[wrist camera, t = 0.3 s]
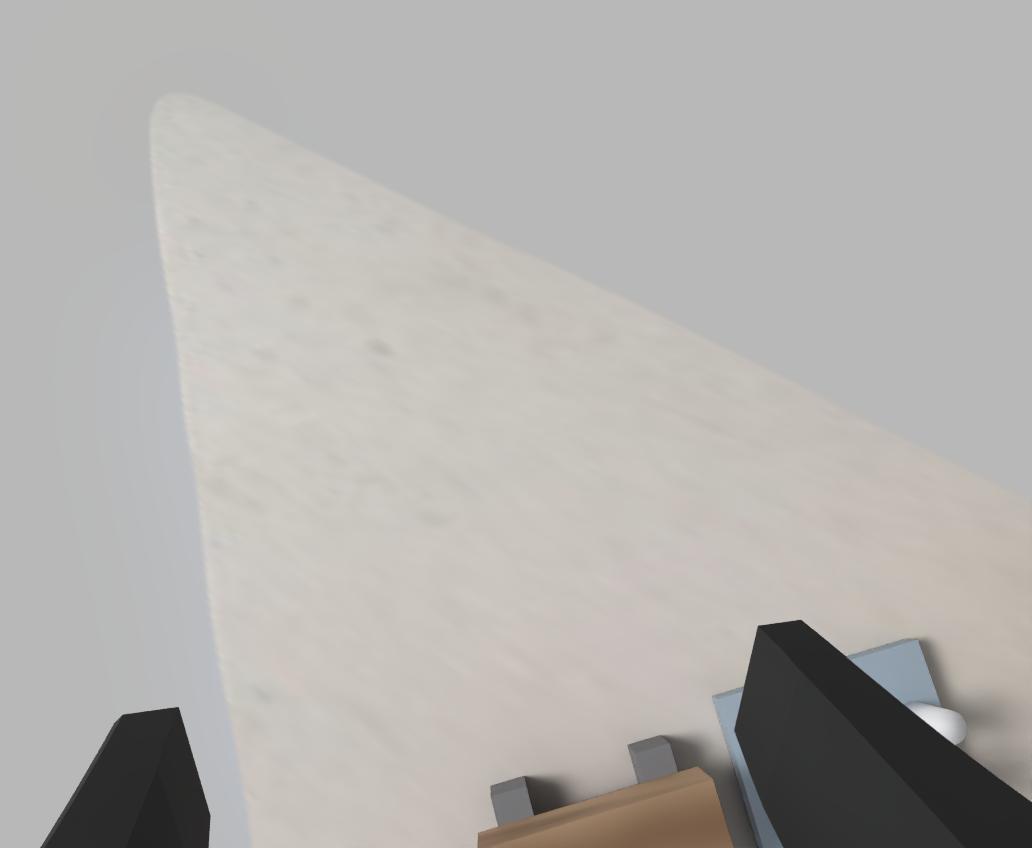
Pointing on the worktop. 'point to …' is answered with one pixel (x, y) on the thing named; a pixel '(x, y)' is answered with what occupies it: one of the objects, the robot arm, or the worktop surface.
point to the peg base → (890, 668)
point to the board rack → (648, 763)
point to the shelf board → (627, 819)
